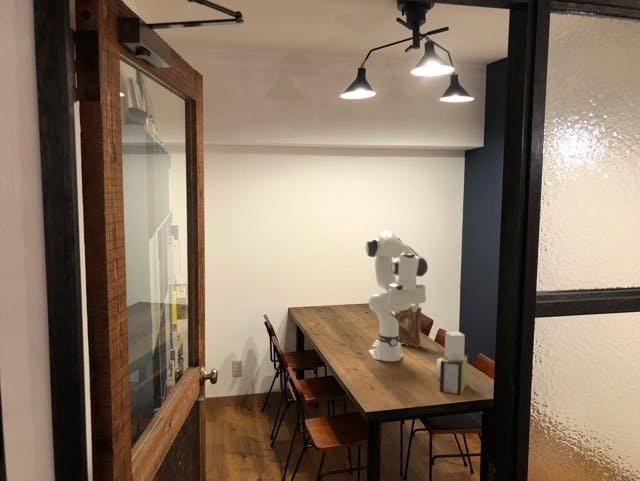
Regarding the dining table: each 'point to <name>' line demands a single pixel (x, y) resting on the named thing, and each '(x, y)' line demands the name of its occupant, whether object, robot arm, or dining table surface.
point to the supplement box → (454, 346)
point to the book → (409, 326)
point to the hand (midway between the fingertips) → (406, 312)
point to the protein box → (453, 375)
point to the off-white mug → (438, 367)
